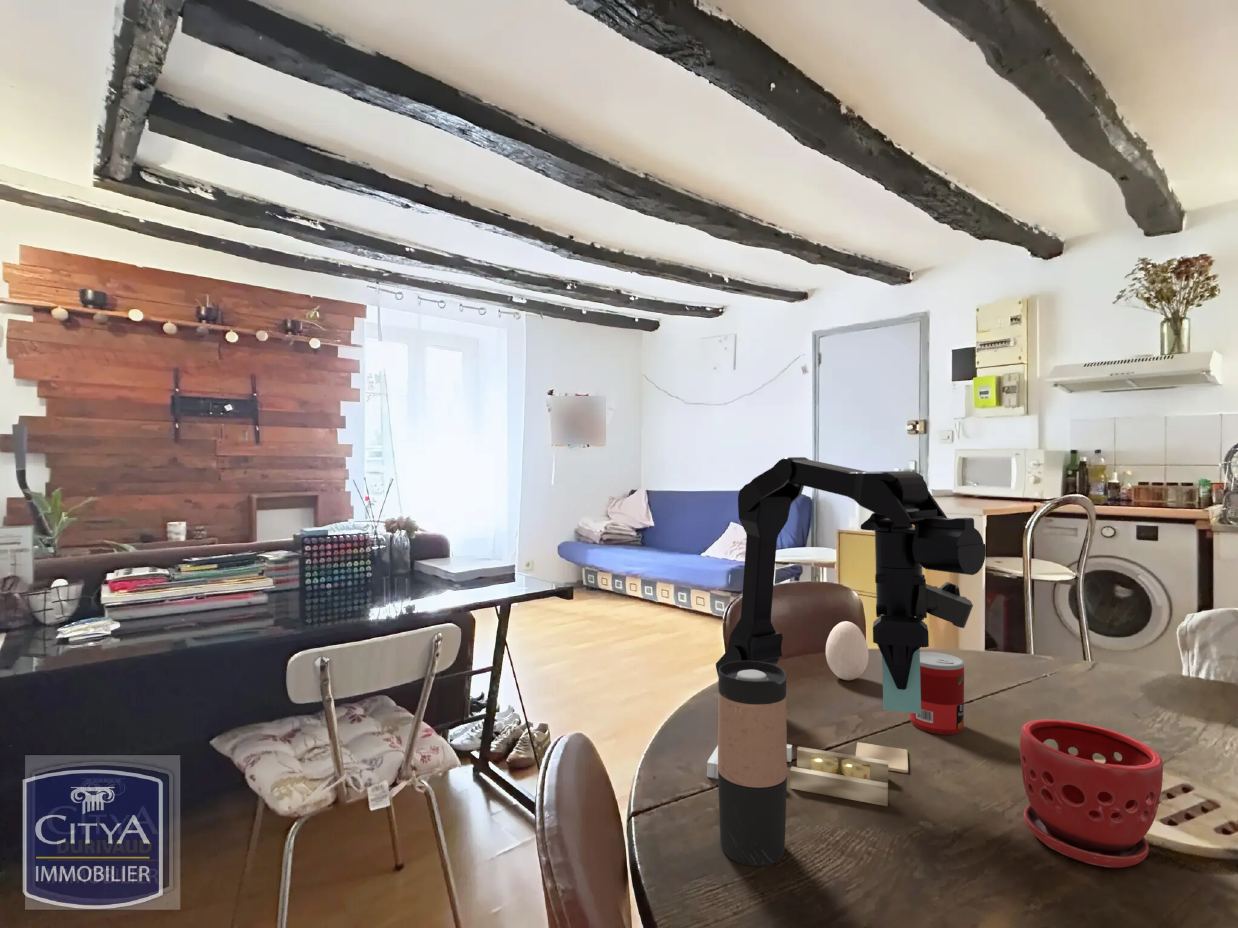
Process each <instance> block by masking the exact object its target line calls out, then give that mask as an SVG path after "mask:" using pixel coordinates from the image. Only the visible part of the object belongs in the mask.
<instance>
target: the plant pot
mask: <svg viewBox="0 0 1238 928" xmlns="http://www.w3.org/2000/svg"><path fill="white" fill-rule="evenodd" d="M1019 739H1020V741H1019V757H1020V758H1019V759H1020V765H1021V771H1022V783H1023V788H1024V789H1025V790H1024V791H1025V794H1026V797H1027V799H1028V800H1029V804H1028V805H1027V806H1025V807H1024V810H1023V821H1024V822H1025V825H1026V826H1027V828H1028V829H1029V830H1030V832H1031V833H1032V834H1033V835H1034V836H1035V837H1036V838H1037V839H1039V840H1040V841H1041V842H1042V843H1043V844H1045V845H1046V846H1047V848H1049V849H1052V850H1054V851H1056V852H1058V853H1060V854H1062V855H1063V856H1066V857H1069V858H1071V859H1074V860H1076V861H1079V862H1082V863H1085V864H1089V865H1094V866H1099V867H1104V868H1125V867H1127V868H1128V867H1131V866H1135V865H1137V864H1139V863H1141V862H1143V861H1144V860H1145V859H1146V857H1147V856H1148V854H1149V851H1150V848H1149V844H1148V841H1147V840H1146V838H1145V836H1146V835H1147V833H1148V832H1149V830H1150V829H1151V828H1152V826H1153V824H1154V821H1155V819H1156V816H1157V813H1158V809H1159V802H1160V797H1161V794H1162V790H1163V777H1164V775H1163V773H1164V762H1163V759H1162V757H1161V755H1160V754H1159V753H1158V752H1157V751H1156V750H1154V749H1153V748H1152V747H1150V746H1149V745H1147V744H1145V743H1144V742H1141V741H1140V740H1137V739H1136V738H1132V737H1130V736H1128V735H1126V734H1123V733H1120V732H1117V731H1114V730H1112V729H1111V730H1110V729H1109V728H1104V727H1102V726H1097V725H1093V724H1088V723H1083V722H1077V721H1071V720H1064V719H1049V718H1048V719H1037V720H1031V721H1029V722H1025V724H1023V725H1022V727H1021V730H1020V738H1019ZM1047 740H1053V741H1055V743H1056V744H1057V749H1056V748H1053V747H1050V746H1048V745H1047V744H1045V742H1046V741H1047ZM1070 748H1075V749H1076V750H1077V752H1076V753H1075V754H1072V753H1070V752H1069V749H1070ZM1115 753H1118V754H1119V755H1120V756H1121V760H1119V759H1117V758H1116V756H1115ZM1095 754H1099V755H1101V756H1102V757H1103V758H1105V762H1099V761H1095V760H1094V758H1093V757H1094V755H1095Z"/></svg>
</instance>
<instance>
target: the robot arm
mask: <svg viewBox="0 0 1238 928" xmlns="http://www.w3.org/2000/svg"><path fill="white" fill-rule="evenodd" d="M804 487H806V488H807V487H808V488H811V489H815V490H820V491H823V492H827V493H831V494H835V495H840V496H844V497H847V498H849V499H852V500H853V501H854V502H856V504H858V506H859V507H862V508H864V509H866V510H867V511H870V512H871V515H870V516H869V517H868V519H866V520H865V521H864V522H863V523H861V524H860V529H861V530H862V531H874V546H875V547H874V550H875V551H874V556H875V557H874V559H875V575H874V576H875V577H874V578H875V579H874V581H875V589H876V590H875V598H876V599H875V600H876V602H875V615H876V619H875V620H874V621H873V623H872V643H873V644H875V645H876V644H877V647H878V649H879V651H880V653H881V657H882V656H883V658H884V660H885V662H886V665H887V667H888V669H889V671H890V674H891V676H892V678H893V680H894V683H895V685H896V687H897V689H901V690H905V689H906V688H907V683H908V678H909V673H910V668H911V663H912V659H913V654H914V652H915V651H917V650H918V649H919V648H920V649H921V648H929V644H930V643H929V642H930V641H929V640H930V639H929V628H928V625H927V623H925V621H924V620H925V619H928V618H927V617H928V615H931V616H934V617H935V618H939V619H940V620H944V621H947V622H949V623H950V624H952V626H955V627H958V628H960V629H964V628H965V627H966V625H967V622H968V621H969V617H970V615H971V611H972V609H973V607H974V604H973V603H972V601H971V600H970V599H968V598H967V597H966V596H962V595H961V594H960V587H959V586H958V585H957V584H954V583H951V582H948V581H945V583H944V584H942V585H941V586H940V587H938V586H936V585H930V584H929V583H928V584H927V581H926V576H925V574H923V568H924V569H925V570H928V571H937V572H942V573H943V572H945V573H953V574H959V575H966V576H967V575H968V576H974V575H976V574H978V573H979V572H980V570H982V568H983V566H984V564H985V560H986V555H987V554H986V553H987V547H986V543H985V542H984V540H983V537H982V534H981V533H980V531H979V530H978V529H976V528H975V519H974V518H973V517H955V518H949V517H947V515H946V514H945V512H944V510H943V509H942V508H941V507H940V505H939V504H938V502H937V501H936V500H935V498H934V497H933V495H932V494H931V491H929V487H928V485H927V482H926V481H925V479H924V476H923V475H922V474H921V473H919V472H916V471H913V470H912V471H911V470H909V471H908V470H907V471H906V470H905V471H904V470H903V471H901V470H897V471H895V470H893V471H892V470H891V471H890V470H889V471H887V470H886V471H866V470H861V469H856V468H850V467H846V466H842V465H836V464H832V463H827V462H823V461H822V462H821V461H816V460H812V459H809V458H808V457H806V456H805V457H804V456H794V457H793V456H790V457H789V456H788V457H783V458H782V459H780V460H778V461H777V462H776V463H775V464H774V465H773V466H772V467H770V468H769V469H767V470H766V471H764V472H762V473H761V474H759V475H757V476H756V477H754V478H753V479H752V480H751V481H750V482H748V483H746V484H745V485H744V486H743V487H742V488H740V489H739V490H738V495H737V508H738V509H737V511H738V519H739V522H740V524H741V526H742V528H743V530H744V533H746V538H745V539H746V541H745V554H744V555H745V556H744V567H743V569H744V570H743V582H742V594H741V595H742V597H741V610H740V618H739V620H738V621H737V623H736V624H735V626H734V627H733V629H732V631H731V632H730V635H729V640H728V644H727V645H728V646H727V651H725V653H724V654H723V655H722V656H721V657H720V658H718V660H717V662H716V663H715V669H716V673H717V676H718V675H719V668H720V667H721V666H722V665H723V664H726V663H729V662H734V661H759V662H766V663H770V664H773V665H776V666H778V663H779V661H780V657H781V658H782V657H783V654H782V653H783V652H782V643H783V640H784V636H783V634H782V633H780V632H778V631H777V629H775V627H774V625H773V622H772V610H773V609H772V608H773V607H772V606H773V595H774V582H775V581H774V580H775V567H776V558H777V557H776V555H777V542H778V541H777V539H778V537H779V534H780V533H781V531H782V530H783V528H784V527H785V526H786V524H787V522H788V521H789V520H788V519H789V515H790V511H791V505H792V504H793V503H794V502H795V501H796V500H797V499H798V498H799V497H801V495H802V493H803V490H804ZM913 525H914V526H913Z"/></svg>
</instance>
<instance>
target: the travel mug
mask: <svg viewBox="0 0 1238 928" xmlns="http://www.w3.org/2000/svg"><path fill="white" fill-rule="evenodd" d="M717 677H718V682H717V683H718V684H717V685H718V688H717V689H718V695H717V696H718V697H717V700H718V702H717V704H718V705H717V745H718V779H717V786H718V790H717V791H718V811H719V814H718V815H719V817H718V818H719V819H718V821H719V839H720V840H719V841H720V847H721V850H722V852H723V853H724V854H725V855H726V856H727V857H728V858H729V859H731V860H733V861H735V862H737V863H739V864H742V865H747V866H751V867H752V866H753V867H754V866H755V867H764V866H769V865H772V864H775V863H777V862H778V861H780V860H782V858H783V856H784V854H785V845H786V822H787V821H786V817H787V787H788V762H787V744H788V743H787V739H788V738H787V737H788V735H787V734H788V733H787V673H786V672H785V670H784V669H783V668H782V667H780V666H778V665H773V664H770V663H766V662H759V661H734V662H729V663H726V664H723V665H722V666H721V667H720V668H719V675H718V674H717Z"/></svg>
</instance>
